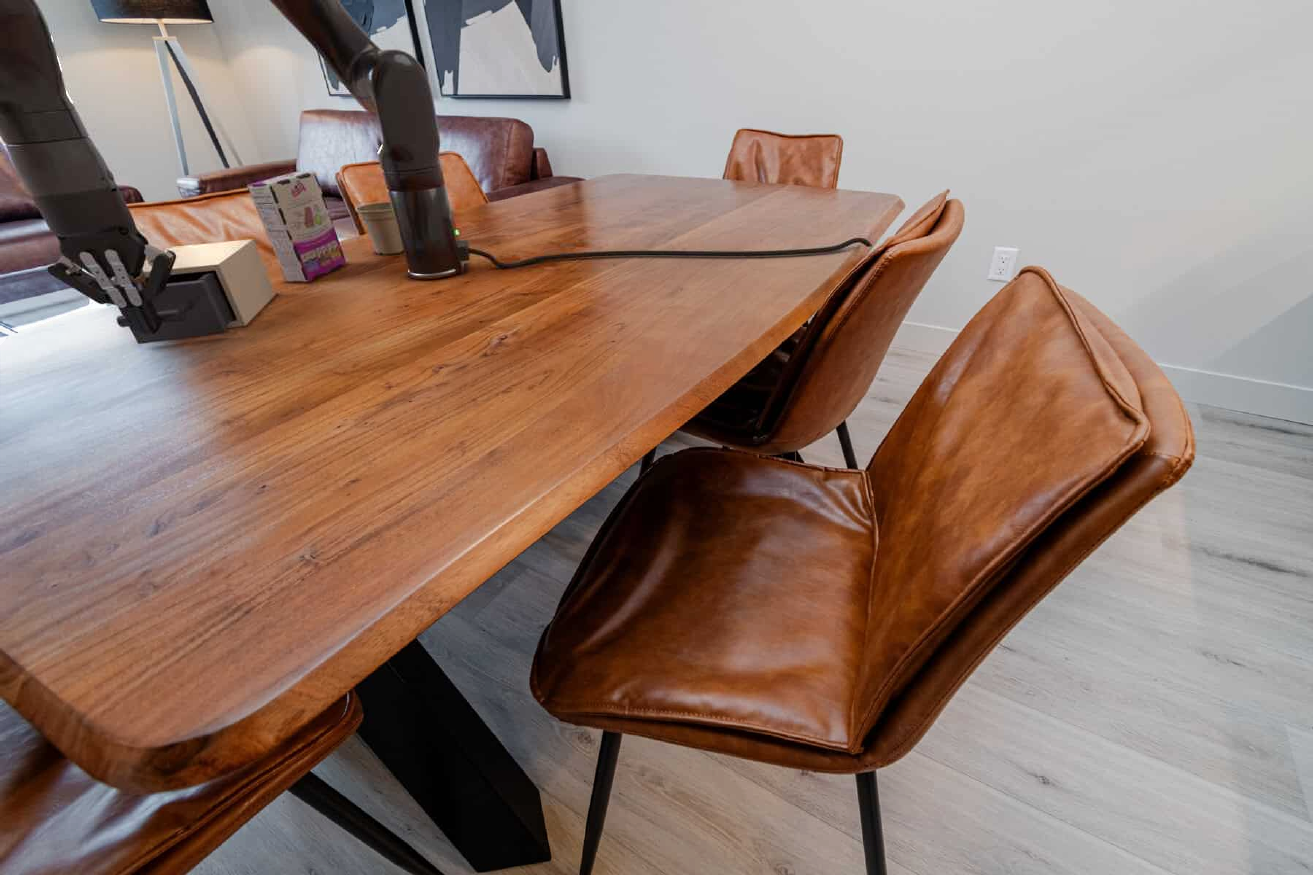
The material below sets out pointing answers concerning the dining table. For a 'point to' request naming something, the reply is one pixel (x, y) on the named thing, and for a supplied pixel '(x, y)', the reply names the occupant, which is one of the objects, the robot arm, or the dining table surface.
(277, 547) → the dining table surface
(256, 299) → the cabinet
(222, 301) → the drawer
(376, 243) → the flower pot
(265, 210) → the candy bar box
